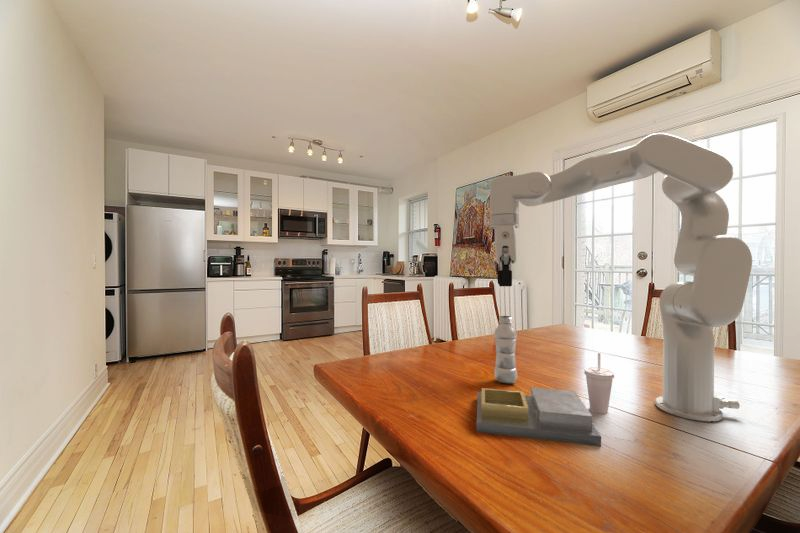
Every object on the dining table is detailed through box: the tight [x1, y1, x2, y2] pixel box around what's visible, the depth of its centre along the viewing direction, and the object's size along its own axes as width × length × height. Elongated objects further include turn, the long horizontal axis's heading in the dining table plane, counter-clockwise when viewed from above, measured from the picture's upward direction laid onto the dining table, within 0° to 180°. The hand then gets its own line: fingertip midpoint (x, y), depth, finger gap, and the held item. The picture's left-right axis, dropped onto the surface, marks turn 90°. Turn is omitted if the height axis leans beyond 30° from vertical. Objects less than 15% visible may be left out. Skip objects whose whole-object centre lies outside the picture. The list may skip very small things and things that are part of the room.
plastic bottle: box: [493, 315, 518, 384], centre depth 102 cm, size 6×7×20 cm
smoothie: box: [583, 352, 615, 415], centre depth 83 cm, size 6×6×14 cm
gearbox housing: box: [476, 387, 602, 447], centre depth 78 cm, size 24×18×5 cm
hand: (504, 285), depth 92 cm, fingers open, 9 cm apart
